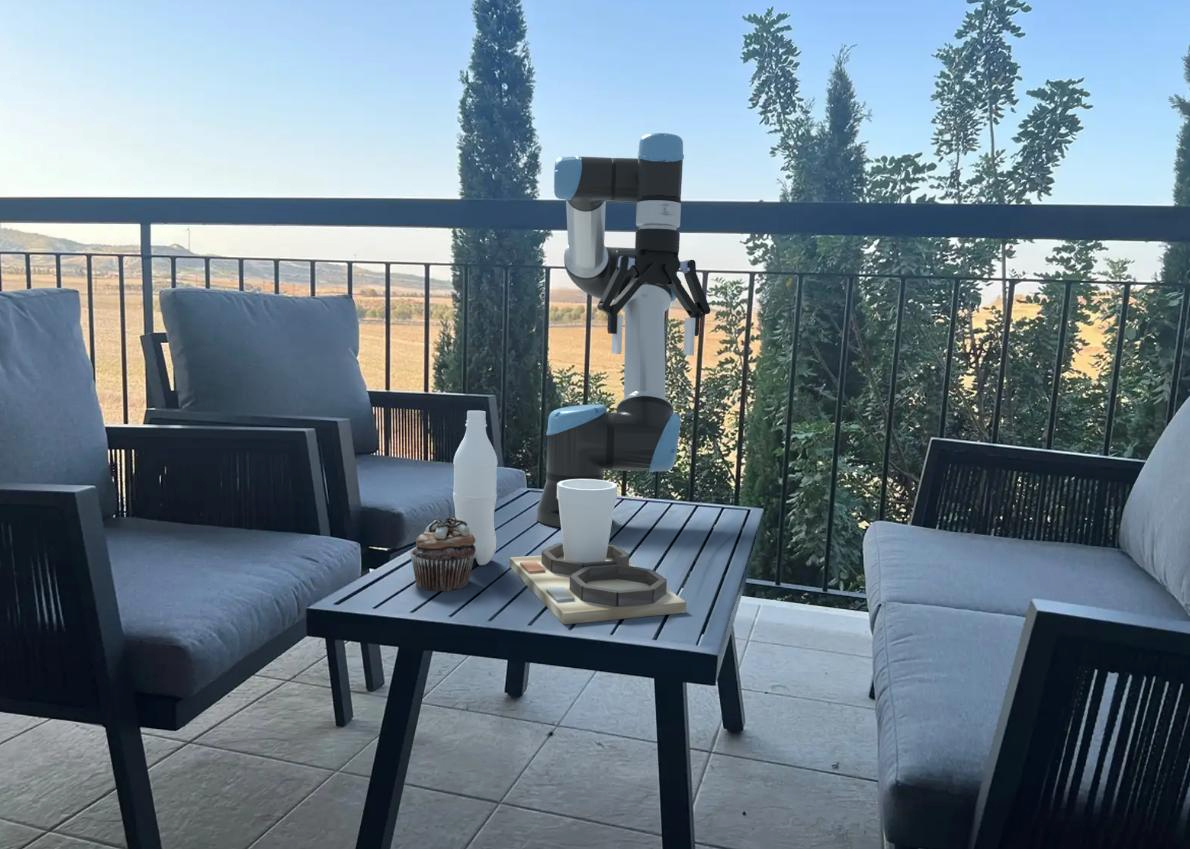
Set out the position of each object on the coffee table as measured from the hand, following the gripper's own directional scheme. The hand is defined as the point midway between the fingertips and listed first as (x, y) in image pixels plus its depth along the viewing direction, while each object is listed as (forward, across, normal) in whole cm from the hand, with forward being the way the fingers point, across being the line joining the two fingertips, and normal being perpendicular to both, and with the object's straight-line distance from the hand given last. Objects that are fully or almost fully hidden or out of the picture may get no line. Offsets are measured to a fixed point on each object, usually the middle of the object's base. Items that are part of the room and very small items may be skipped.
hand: (653, 354), depth 147 cm
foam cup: (+33, -15, -11) cm, 38 cm away
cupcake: (+35, -38, -10) cm, 52 cm away
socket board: (+35, -17, -18) cm, 43 cm away
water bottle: (+35, -31, 0) cm, 47 cm away
